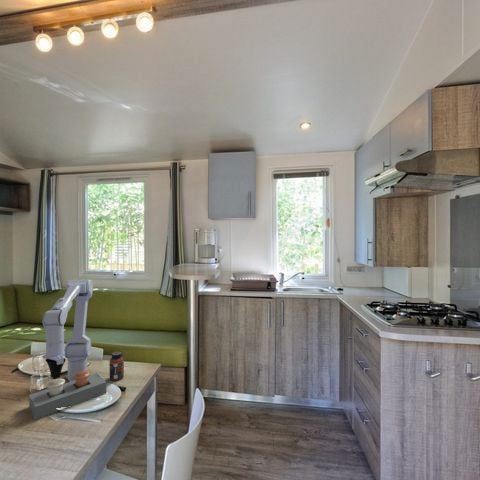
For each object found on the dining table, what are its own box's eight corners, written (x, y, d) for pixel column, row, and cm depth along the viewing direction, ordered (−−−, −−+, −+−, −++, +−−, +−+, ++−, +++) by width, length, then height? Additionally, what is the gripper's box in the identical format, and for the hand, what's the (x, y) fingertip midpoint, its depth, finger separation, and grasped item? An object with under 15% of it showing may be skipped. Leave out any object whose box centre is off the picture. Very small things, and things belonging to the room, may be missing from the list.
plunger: (44, 394, 110) (44, 382, 110) (62, 388, 114) (62, 377, 114) (48, 400, 106) (48, 388, 105) (67, 393, 110) (66, 382, 110)
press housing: (35, 419, 101) (35, 407, 101) (29, 406, 108) (29, 394, 108) (106, 393, 118) (106, 382, 118) (96, 383, 125) (96, 373, 125)
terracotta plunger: (71, 385, 116) (71, 374, 116) (87, 379, 120) (87, 369, 120) (75, 390, 112) (75, 379, 112) (92, 385, 116) (92, 374, 116)
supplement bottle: (118, 382, 126) (118, 356, 126) (106, 380, 128) (106, 355, 127) (126, 375, 132) (126, 351, 132) (115, 374, 133) (114, 350, 133)
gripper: (38, 339, 112) (39, 374, 112) (47, 349, 102) (47, 388, 102) (59, 335, 117) (59, 368, 117) (69, 344, 107) (70, 381, 107)
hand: (55, 377), depth 110 cm, fingers closed
